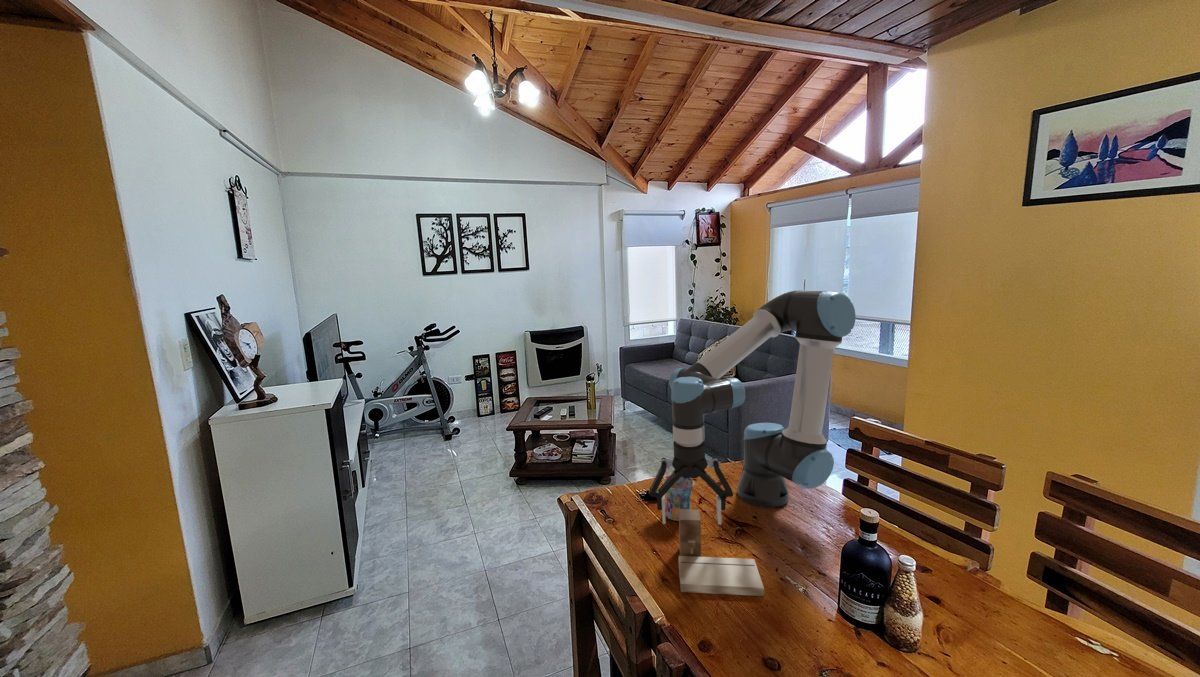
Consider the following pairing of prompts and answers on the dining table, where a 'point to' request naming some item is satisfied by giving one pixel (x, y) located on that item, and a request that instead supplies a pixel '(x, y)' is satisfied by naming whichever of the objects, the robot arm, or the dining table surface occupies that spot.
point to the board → (719, 576)
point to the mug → (678, 497)
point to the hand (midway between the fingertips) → (691, 521)
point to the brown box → (689, 532)
